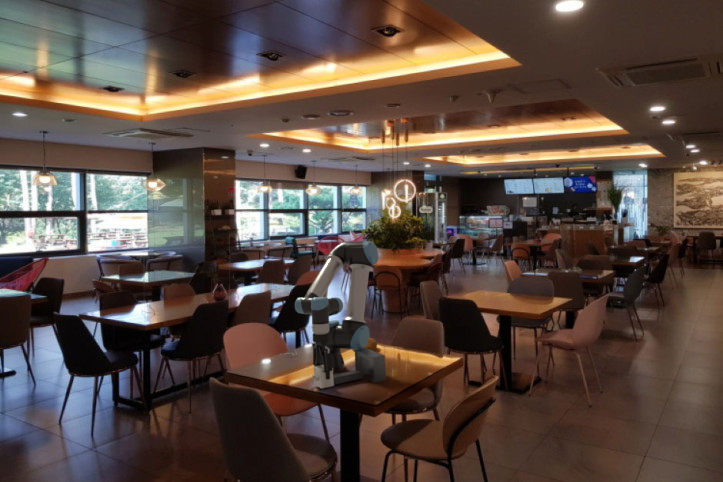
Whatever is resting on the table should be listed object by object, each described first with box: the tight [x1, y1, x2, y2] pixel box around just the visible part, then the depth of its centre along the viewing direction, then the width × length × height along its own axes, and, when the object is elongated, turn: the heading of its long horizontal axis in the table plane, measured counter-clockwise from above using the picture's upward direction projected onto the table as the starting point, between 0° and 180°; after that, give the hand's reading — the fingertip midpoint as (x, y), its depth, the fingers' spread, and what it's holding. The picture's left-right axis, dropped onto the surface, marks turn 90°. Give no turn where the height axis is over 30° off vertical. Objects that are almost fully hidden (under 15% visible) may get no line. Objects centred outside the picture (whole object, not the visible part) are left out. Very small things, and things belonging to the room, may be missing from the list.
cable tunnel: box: [354, 348, 387, 384], centre depth 251 cm, size 17×6×12 cm, turn 31°
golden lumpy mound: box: [353, 336, 378, 352], centre depth 304 cm, size 14×16×8 cm
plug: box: [312, 365, 364, 389], centre depth 242 cm, size 7×24×8 cm, turn 121°
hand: (323, 384), depth 239 cm, fingers closed on plug, 7 cm apart
